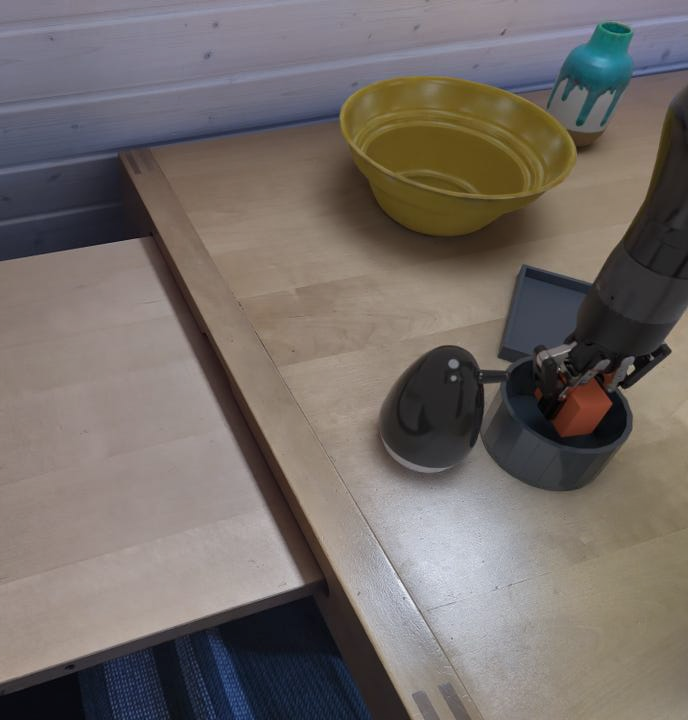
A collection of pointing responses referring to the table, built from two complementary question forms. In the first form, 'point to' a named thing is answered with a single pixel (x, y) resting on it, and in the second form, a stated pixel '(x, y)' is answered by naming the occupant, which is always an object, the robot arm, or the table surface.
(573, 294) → the tray
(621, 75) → the vase
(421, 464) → the pump dispenser
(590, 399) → the sponge
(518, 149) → the planter bowl
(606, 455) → the crock
